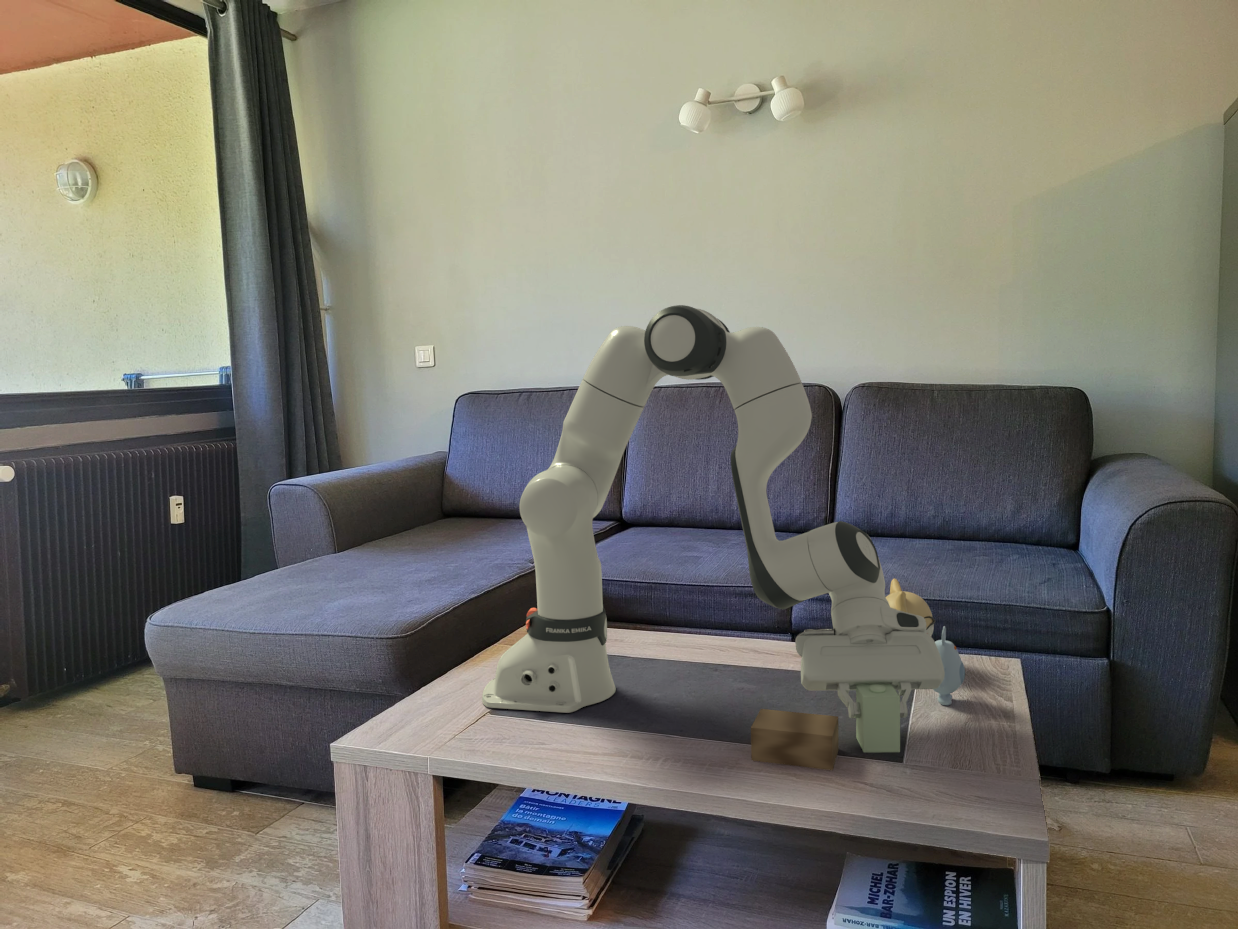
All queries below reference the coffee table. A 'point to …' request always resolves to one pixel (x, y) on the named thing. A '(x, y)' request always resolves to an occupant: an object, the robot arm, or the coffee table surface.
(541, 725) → the coffee table surface
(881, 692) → the green brick
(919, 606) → the kitten
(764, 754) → the base brick
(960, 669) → the toy figure
